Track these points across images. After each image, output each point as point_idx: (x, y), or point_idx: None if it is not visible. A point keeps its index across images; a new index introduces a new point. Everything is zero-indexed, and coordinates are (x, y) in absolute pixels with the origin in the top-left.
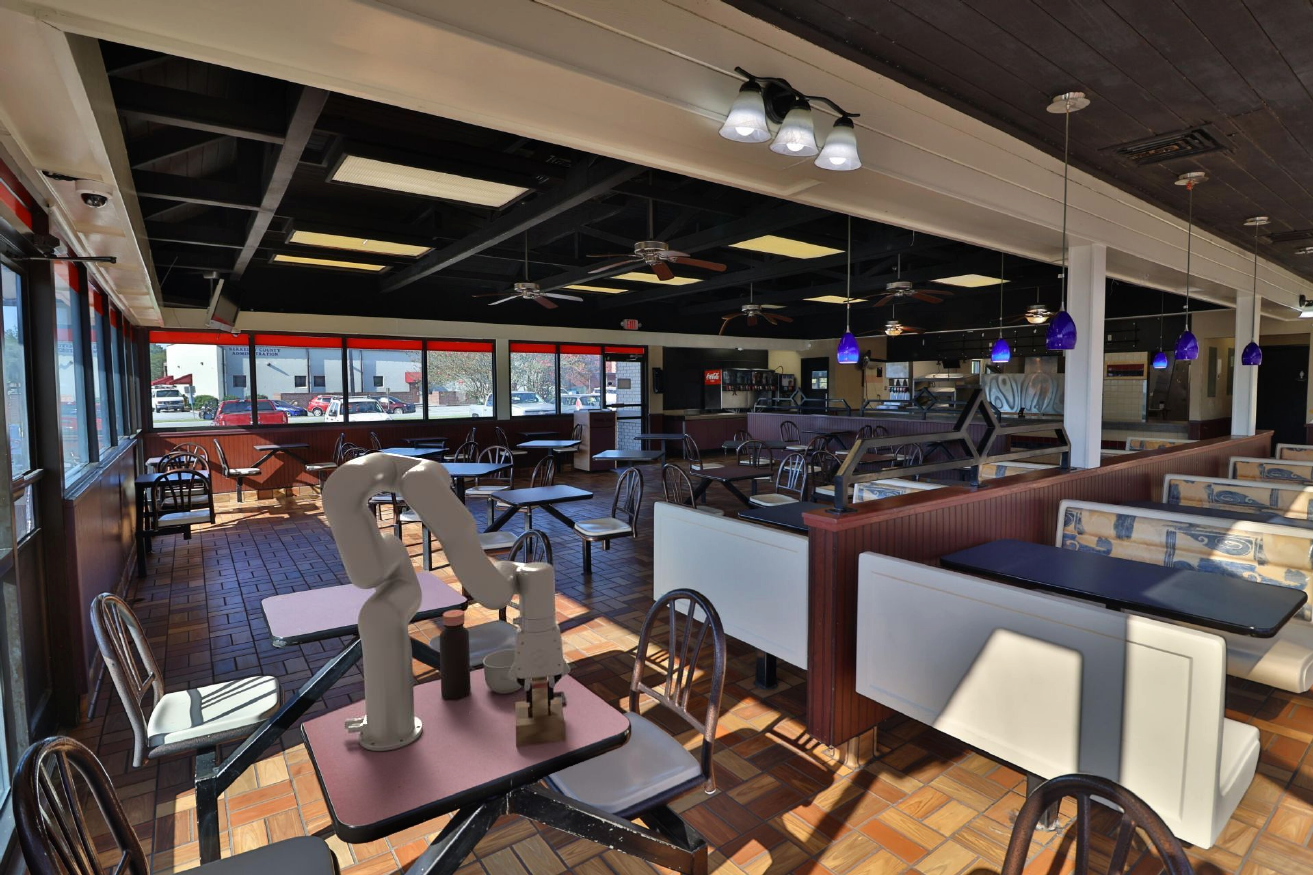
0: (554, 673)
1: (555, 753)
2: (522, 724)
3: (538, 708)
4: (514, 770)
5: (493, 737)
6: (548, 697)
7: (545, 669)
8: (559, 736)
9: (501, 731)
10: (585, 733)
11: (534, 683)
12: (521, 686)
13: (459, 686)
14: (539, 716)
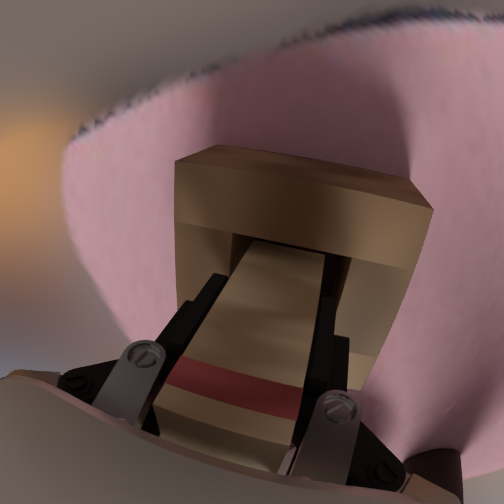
0: (40, 399)
1: (265, 70)
2: (397, 208)
3: (287, 282)
4: (438, 27)
5: (460, 276)
6: (207, 304)
7: (85, 490)
8: (228, 149)
9: (424, 300)
10: (144, 171)
11: (272, 419)
12: (294, 447)
13: (438, 474)
14: (290, 258)
